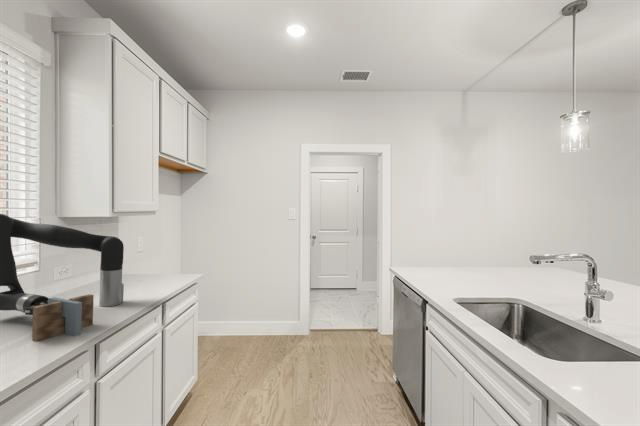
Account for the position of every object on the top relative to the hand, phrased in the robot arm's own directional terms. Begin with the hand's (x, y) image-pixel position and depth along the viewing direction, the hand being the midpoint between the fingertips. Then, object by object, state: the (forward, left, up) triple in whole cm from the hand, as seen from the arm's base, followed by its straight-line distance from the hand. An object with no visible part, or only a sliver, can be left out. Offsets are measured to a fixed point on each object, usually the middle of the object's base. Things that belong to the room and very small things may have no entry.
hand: (61, 310), depth 128 cm
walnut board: (0, +2, -8) cm, 8 cm away
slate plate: (0, +2, -8) cm, 8 cm away
